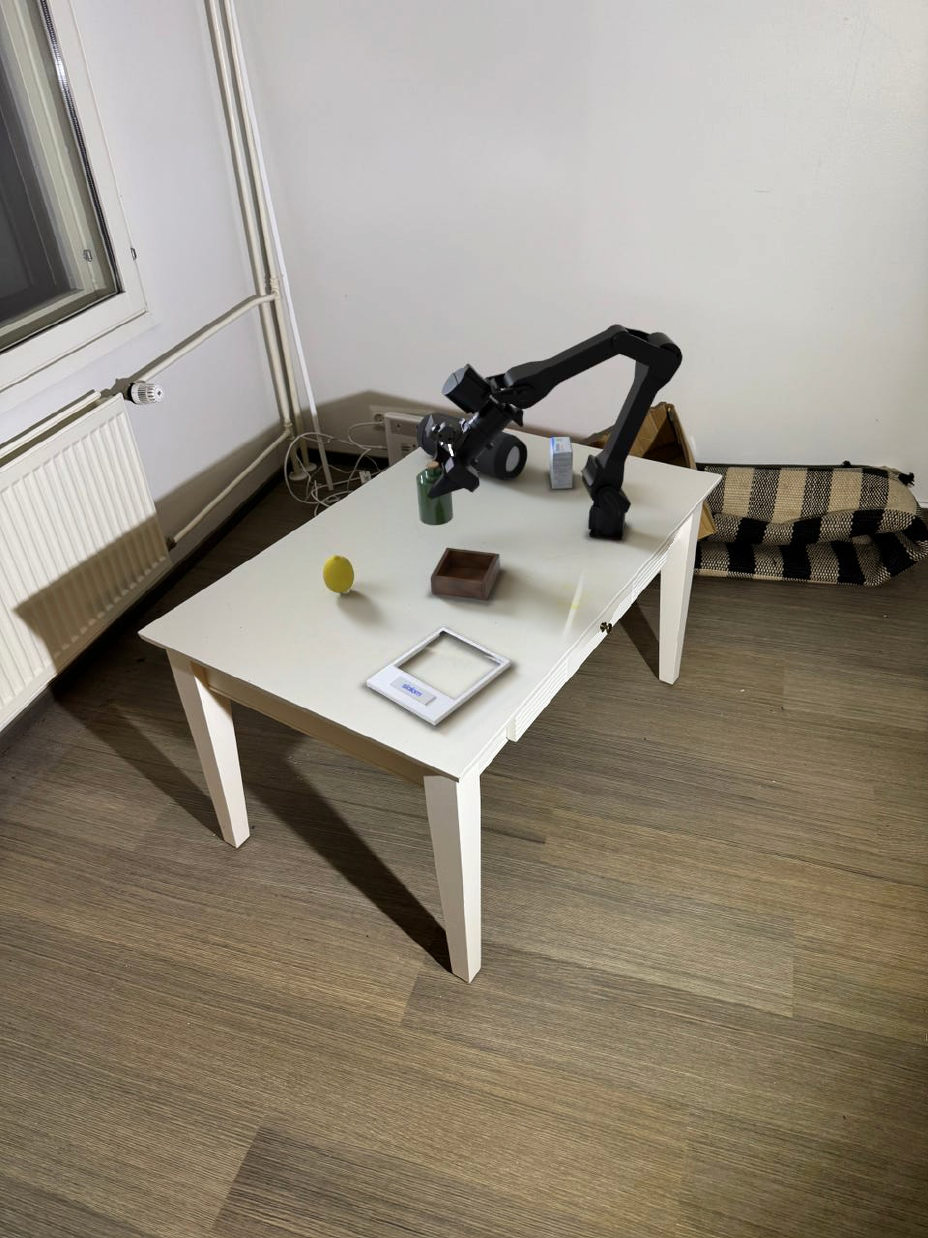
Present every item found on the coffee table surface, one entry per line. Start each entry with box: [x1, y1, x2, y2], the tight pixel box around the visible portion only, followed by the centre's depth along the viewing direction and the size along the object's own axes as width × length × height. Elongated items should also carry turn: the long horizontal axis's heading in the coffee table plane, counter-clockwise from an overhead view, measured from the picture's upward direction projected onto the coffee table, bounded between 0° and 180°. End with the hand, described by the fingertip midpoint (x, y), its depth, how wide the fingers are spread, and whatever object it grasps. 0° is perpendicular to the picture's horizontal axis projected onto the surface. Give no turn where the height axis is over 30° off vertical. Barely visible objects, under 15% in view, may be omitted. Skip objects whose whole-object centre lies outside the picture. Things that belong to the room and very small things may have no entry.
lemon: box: [322, 555, 355, 594], centre depth 157 cm, size 6×6×8 cm
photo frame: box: [366, 626, 511, 726], centre depth 139 cm, size 15×1×18 cm
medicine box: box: [549, 436, 574, 490], centre depth 189 cm, size 8×4×9 cm, turn 179°
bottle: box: [415, 460, 454, 526], centre depth 163 cm, size 6×6×11 cm
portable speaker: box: [416, 412, 528, 481], centre depth 196 cm, size 26×10×10 cm, turn 50°
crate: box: [430, 547, 501, 601], centre depth 159 cm, size 10×10×4 cm
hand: (426, 488), depth 162 cm, fingers closed on bottle, 6 cm apart
